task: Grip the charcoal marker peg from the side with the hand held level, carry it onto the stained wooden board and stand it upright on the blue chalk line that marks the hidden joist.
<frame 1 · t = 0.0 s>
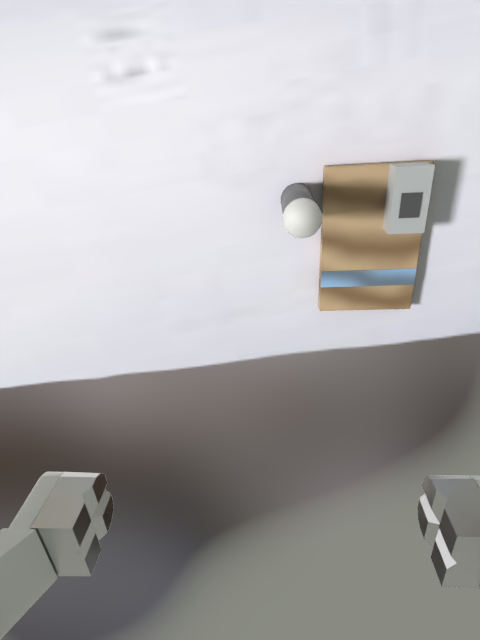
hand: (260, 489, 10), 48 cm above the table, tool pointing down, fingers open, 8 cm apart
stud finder: (403, 196, 51), resting on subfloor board
marker peg: (296, 199, 53), on the table
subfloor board: (368, 240, 55), on the table
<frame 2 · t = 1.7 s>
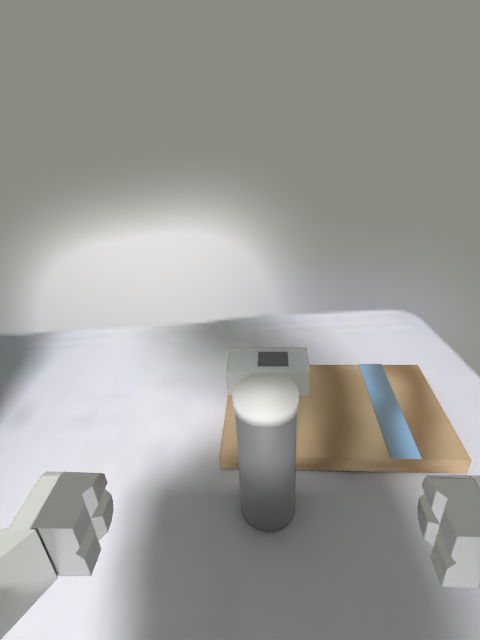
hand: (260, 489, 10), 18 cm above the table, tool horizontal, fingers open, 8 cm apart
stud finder: (268, 381, 41), resting on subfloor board
marker peg: (267, 506, 30), on the table
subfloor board: (330, 416, 39), on the table
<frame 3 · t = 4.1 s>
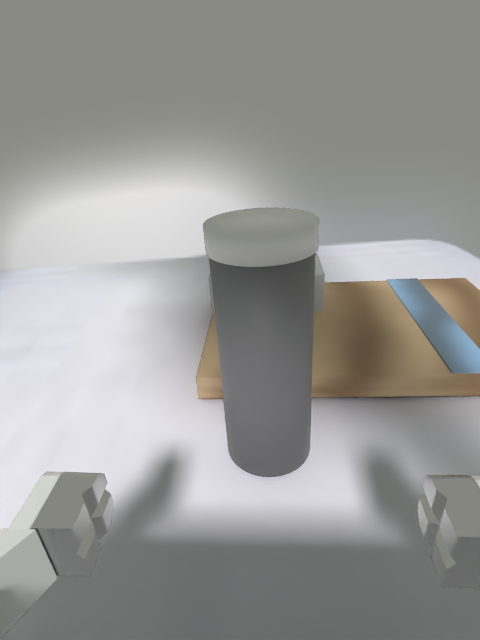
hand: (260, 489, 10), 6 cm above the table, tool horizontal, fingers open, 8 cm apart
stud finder: (266, 299, 31), resting on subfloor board
marker peg: (268, 443, 20), on the table
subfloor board: (353, 337, 28), on the table
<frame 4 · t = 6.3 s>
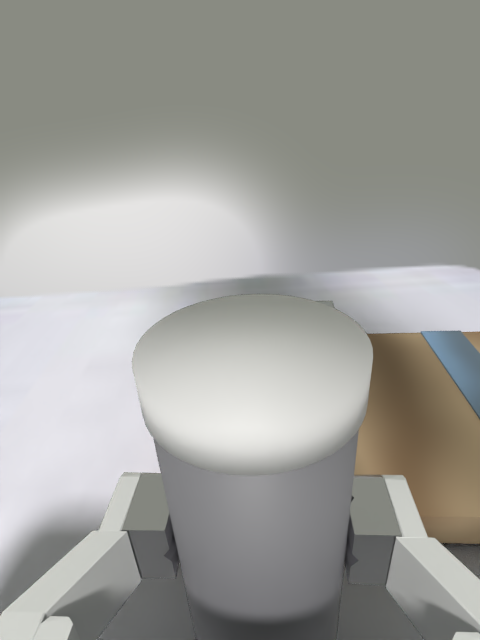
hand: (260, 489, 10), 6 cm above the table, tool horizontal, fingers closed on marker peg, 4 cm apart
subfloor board: (382, 421, 21), on the table
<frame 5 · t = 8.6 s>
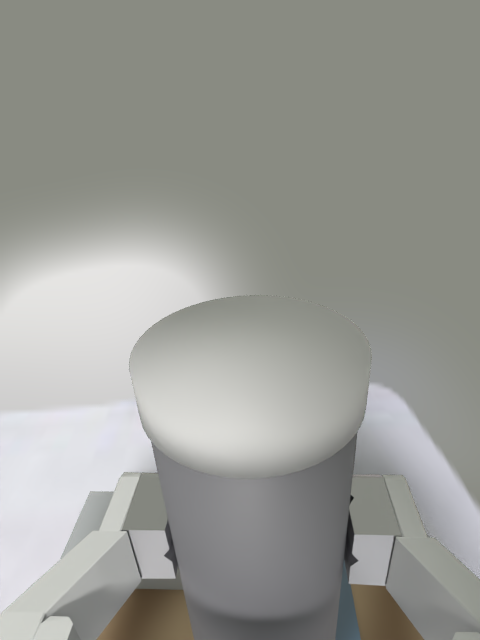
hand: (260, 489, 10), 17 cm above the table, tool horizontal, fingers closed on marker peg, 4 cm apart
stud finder: (148, 551, 25), resting on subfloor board
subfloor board: (242, 630, 22), on the table
when the fingers open (9 cm above the table, at t = 10.8 s): marker peg drops 1 cm, resting on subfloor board.
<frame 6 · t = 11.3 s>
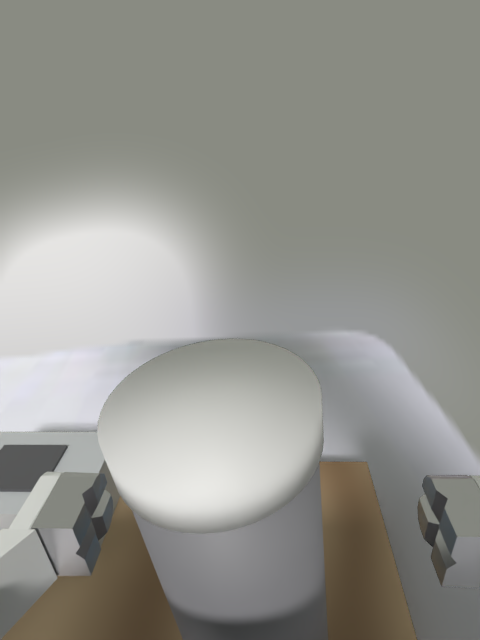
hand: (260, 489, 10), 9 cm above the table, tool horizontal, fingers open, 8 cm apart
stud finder: (30, 510, 19), resting on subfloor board
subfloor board: (141, 616, 16), on the table
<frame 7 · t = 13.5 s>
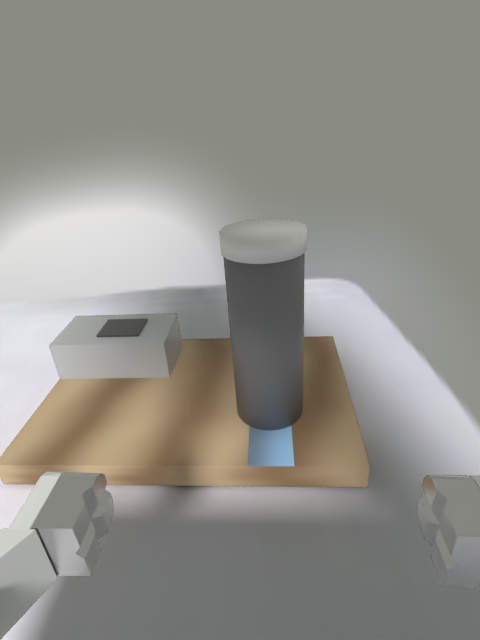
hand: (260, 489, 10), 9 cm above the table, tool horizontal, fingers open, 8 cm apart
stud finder: (123, 360, 30), resting on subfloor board
marker peg: (269, 407, 24), point 2 cm above the table, touching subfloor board
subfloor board: (197, 406, 27), on the table
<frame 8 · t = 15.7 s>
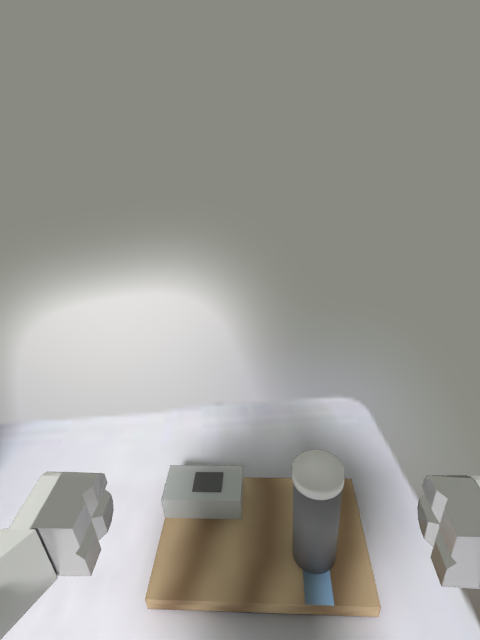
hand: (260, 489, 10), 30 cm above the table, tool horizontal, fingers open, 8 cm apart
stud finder: (205, 500, 43), resting on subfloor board
marker peg: (313, 552, 37), point 2 cm above the table, touching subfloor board
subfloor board: (261, 540, 40), on the table
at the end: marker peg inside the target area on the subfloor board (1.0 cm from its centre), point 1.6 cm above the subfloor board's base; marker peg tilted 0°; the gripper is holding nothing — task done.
